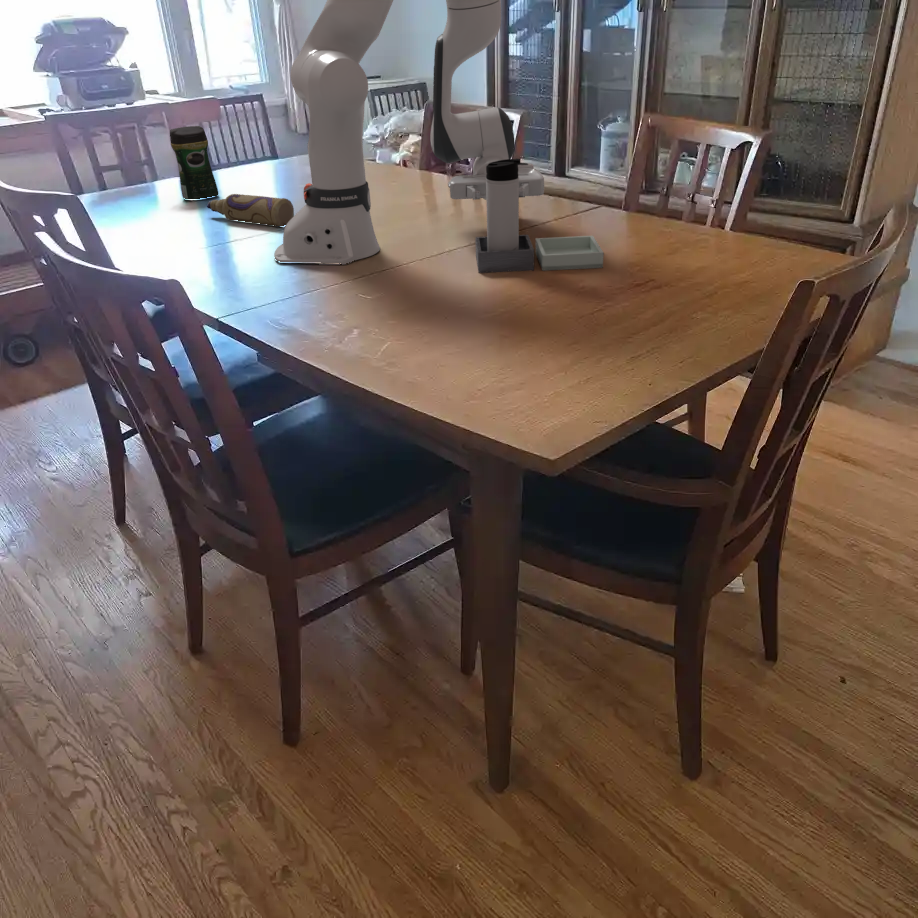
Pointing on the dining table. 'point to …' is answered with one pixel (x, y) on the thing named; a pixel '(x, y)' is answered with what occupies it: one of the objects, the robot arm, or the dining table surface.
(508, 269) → the collar
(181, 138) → the coffee jar
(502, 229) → the travel mug
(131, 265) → the dining table surface
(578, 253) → the tray
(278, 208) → the decorative bottle
